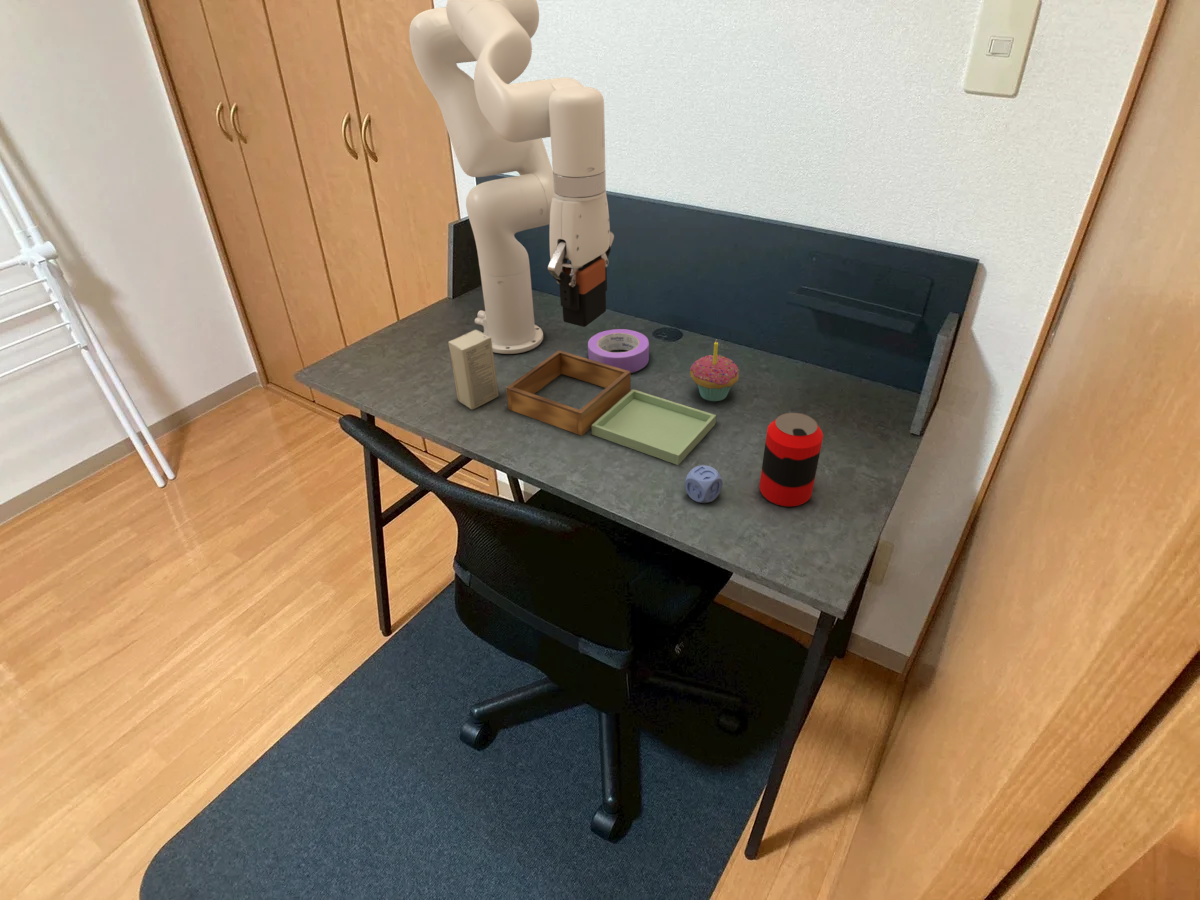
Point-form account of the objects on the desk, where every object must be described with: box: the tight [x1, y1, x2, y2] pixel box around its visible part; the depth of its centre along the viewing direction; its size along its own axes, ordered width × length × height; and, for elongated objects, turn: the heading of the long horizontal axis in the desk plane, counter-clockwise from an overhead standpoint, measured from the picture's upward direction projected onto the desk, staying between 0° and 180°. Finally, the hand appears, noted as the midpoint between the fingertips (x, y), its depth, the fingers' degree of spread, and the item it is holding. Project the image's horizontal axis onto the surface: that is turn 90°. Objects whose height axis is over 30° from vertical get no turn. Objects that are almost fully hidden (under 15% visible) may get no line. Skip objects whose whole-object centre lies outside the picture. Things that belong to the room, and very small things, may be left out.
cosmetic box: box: [447, 329, 500, 410], centre depth 125 cm, size 6×4×12 cm
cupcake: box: [689, 338, 740, 402], centre depth 125 cm, size 9×8×12 cm
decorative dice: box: [684, 464, 723, 504], centre depth 105 cm, size 4×4×4 cm
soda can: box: [758, 412, 824, 508], centre depth 103 cm, size 8×8×12 cm
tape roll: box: [587, 328, 650, 374], centre depth 138 cm, size 12×12×4 cm
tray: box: [591, 388, 717, 466], centre depth 120 cm, size 16×13×2 cm
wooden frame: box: [505, 349, 632, 437], centre depth 126 cm, size 16×16×4 cm
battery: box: [562, 257, 607, 328], centre depth 113 cm, size 4×7×10 cm, turn 149°
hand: (584, 298), depth 114 cm, fingers closed on battery, 7 cm apart
